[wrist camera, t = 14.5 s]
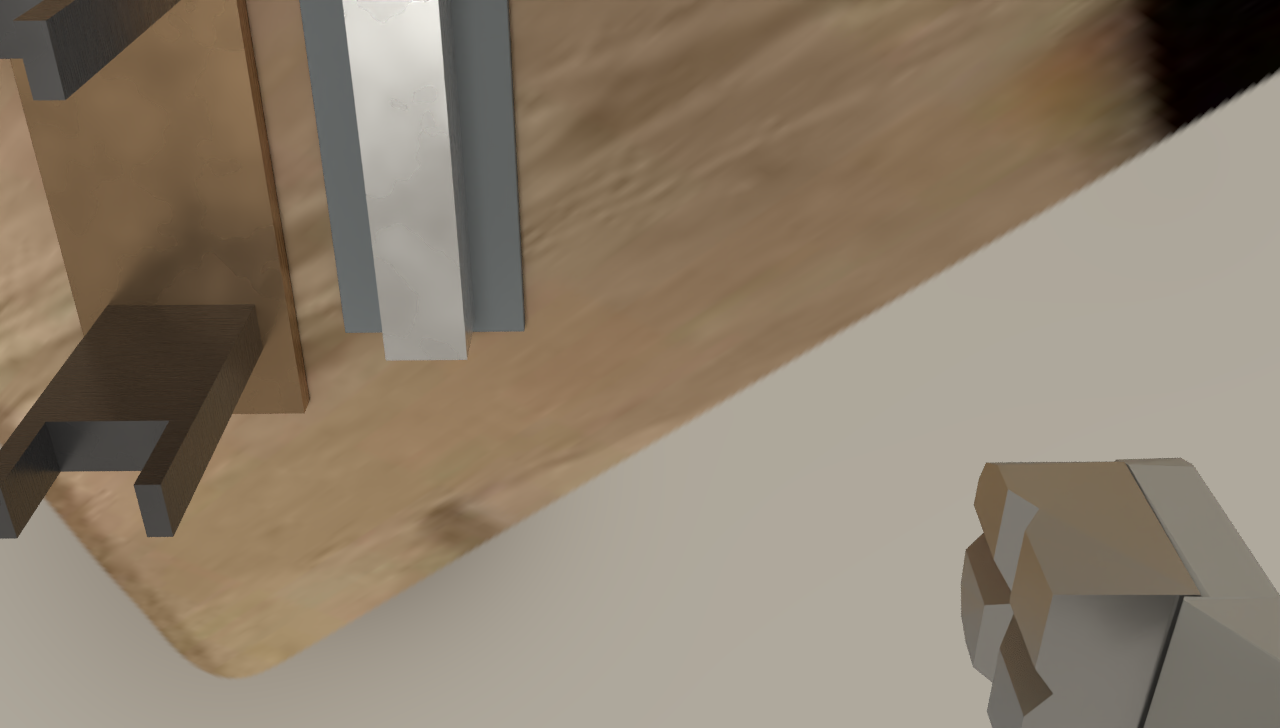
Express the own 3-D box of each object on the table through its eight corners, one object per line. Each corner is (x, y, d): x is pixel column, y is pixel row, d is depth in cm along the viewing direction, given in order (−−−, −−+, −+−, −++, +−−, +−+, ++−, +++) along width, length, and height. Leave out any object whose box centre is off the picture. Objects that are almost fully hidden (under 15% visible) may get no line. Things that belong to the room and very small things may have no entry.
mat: (494, -270, 38) (493, -268, 37) (525, 324, 49) (524, 331, 48) (267, -270, 38) (262, -269, 37) (348, 325, 48) (345, 332, 48)
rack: (215, -182, 39) (65, -110, 28) (309, 399, 50) (228, 608, 39) (-39, -182, 39) (-287, -110, 28) (113, 401, 50) (-22, 611, 39)
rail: (333, -251, 37) (313, -242, 35) (431, -251, 37) (418, -242, 35) (397, 321, 48) (385, 360, 45) (474, 320, 48) (467, 359, 45)
